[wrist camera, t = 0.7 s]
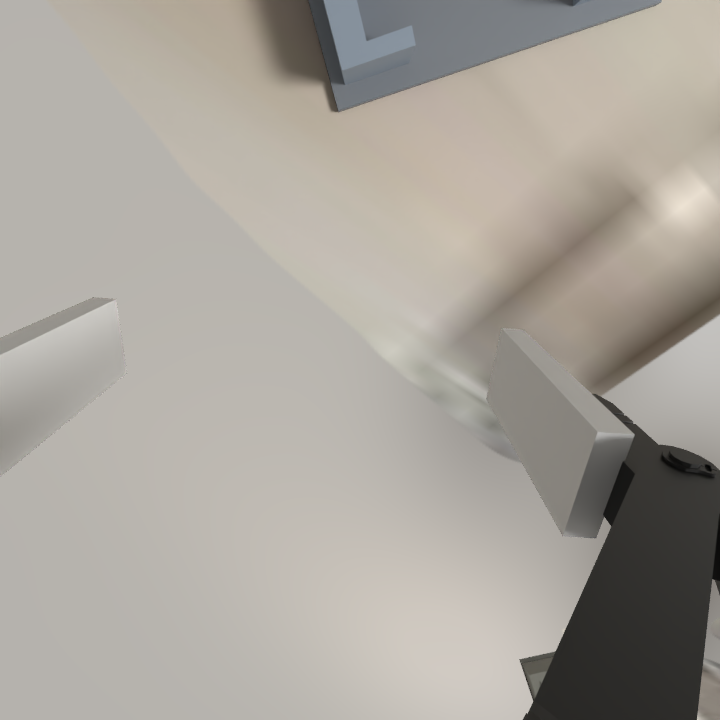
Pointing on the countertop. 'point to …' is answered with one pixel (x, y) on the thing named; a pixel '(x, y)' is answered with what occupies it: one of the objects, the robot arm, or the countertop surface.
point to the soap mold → (536, 670)
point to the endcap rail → (439, 37)
